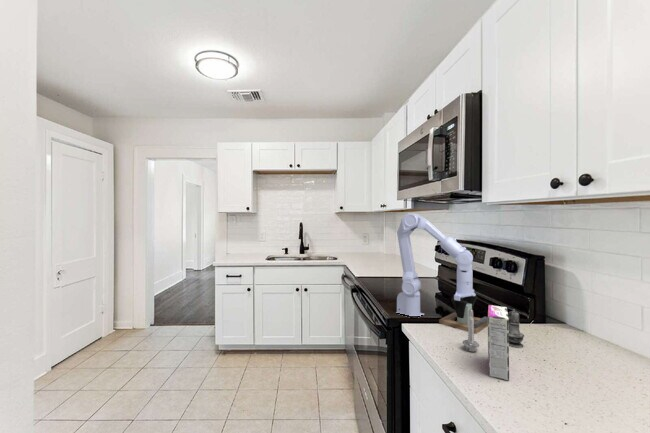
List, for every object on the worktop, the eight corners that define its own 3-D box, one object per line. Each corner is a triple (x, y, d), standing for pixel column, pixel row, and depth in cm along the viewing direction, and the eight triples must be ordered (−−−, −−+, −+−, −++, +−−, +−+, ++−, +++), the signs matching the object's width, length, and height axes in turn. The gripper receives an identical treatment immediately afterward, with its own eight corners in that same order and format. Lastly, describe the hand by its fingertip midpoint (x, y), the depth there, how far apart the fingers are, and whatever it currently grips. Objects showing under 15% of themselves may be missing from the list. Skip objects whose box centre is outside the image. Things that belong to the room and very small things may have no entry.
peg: (457, 323, 117) (457, 303, 117) (461, 321, 120) (461, 301, 120) (467, 326, 114) (467, 306, 114) (471, 324, 117) (471, 304, 117)
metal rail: (472, 327, 109) (472, 323, 109) (484, 320, 117) (484, 316, 117) (476, 328, 108) (476, 324, 108) (487, 320, 116) (487, 317, 116)
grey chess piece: (528, 348, 96) (528, 311, 96) (510, 348, 96) (510, 311, 96) (517, 340, 101) (517, 305, 101) (499, 340, 102) (500, 305, 102)
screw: (460, 346, 97) (476, 347, 96) (464, 352, 92) (481, 354, 92) (460, 306, 97) (476, 307, 96) (464, 311, 92) (481, 312, 92)
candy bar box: (487, 359, 88) (487, 304, 88) (507, 363, 86) (507, 306, 86) (487, 376, 79) (487, 315, 79) (509, 382, 76) (509, 318, 76)
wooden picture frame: (439, 323, 118) (439, 319, 118) (454, 315, 127) (454, 312, 127) (476, 333, 107) (476, 329, 107) (489, 324, 117) (490, 320, 117)
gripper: (467, 285, 109) (467, 322, 109) (482, 280, 119) (482, 313, 119) (448, 282, 115) (448, 317, 115) (464, 277, 124) (464, 309, 124)
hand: (464, 315), depth 117 cm, fingers open, 7 cm apart
